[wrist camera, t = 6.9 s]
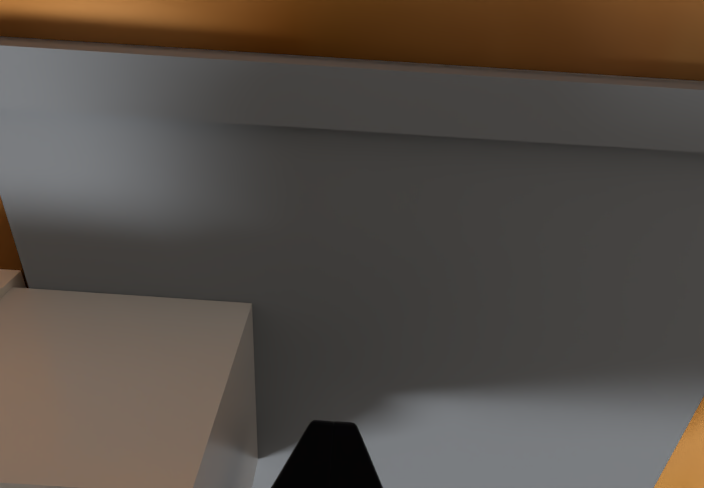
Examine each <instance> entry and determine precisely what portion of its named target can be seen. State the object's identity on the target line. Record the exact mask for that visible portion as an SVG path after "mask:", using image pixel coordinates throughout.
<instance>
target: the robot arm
mask: <svg viewBox="0 0 704 488" xmlns="http://www.w3.org/2000/svg"><path fill="white" fill-rule="evenodd" d="M271 488H383V486H382V484H381V481H380V479H379V477H378V474H377V472H376V469H375V467H374V465H373V462H372V460H371V457H370V455H369V453H368V450H367V448H366V445H365V443H364V441H363V438H362V436H361V434H360V431H359V429H358V427H357V425H356V424H355V423H353V422H341V421H335V422H333V421H326V420H313V421H311V422H310V423H309V425H308V426H307V428H306V430H305V431H304V433H303V435H302V436H301V438H300V440H299V441H298V443H297V445H296V446H295V448H294V450H293V452H292V453H291V455H290V457H289V458H288V460H287V462H286V463H285V465H284V467H283V468H282V470H281V472H280V473H279V475H278V477H277V478H276V480H275V482H274V483H273V485H272V487H271Z"/></svg>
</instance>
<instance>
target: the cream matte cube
mask: <svg viewBox="0 0 704 488" xmlns="http://www.w3.org/2000/svg"><path fill="white" fill-rule="evenodd" d="M257 462H258V448H257V422H256V396H255V369H254V343H253V317H252V303H241V302H226V301H211V300H196V299H181V298H166V297H151V296H136V295H121V294H106V293H91V292H76V291H62V290H47V289H32V288H17V287H12V288H11V289H10V290H9V291H8V292H7V293H6V294H5V295H4V296H3V297H2V298H1V299H0V488H252V486H253V481H254V476H255V471H256V467H257Z"/></svg>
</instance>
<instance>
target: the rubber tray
mask: <svg viewBox="0 0 704 488" xmlns="http://www.w3.org/2000/svg"><path fill="white" fill-rule="evenodd" d="M0 196H1V199H2V202H3V205H4V209H5V212H6V215H7V218H8V222H9V225H10V228H11V231H12V235H13V238H14V241H15V244H16V248H17V251H18V254H19V257H20V261H21V264H22V267H23V270H24V274H25V277H26V280H27V283H28V287H29V288H32V289H47V290H62V291H76V292H91V293H106V294H121V295H136V296H151V297H166V298H181V299H196V300H211V301H226V302H241V303H252V317H253V343H254V369H255V396H256V422H257V448H258V462H257V467H256V471H255V476H254V481H253V486H252V488H271V487H272V485H273V483H274V482H275V480H276V478H277V477H278V475H279V473H280V472H281V470H282V468H283V467H284V465H285V463H286V462H287V460H288V458H289V457H290V455H291V453H292V452H293V450H294V448H295V446H296V445H297V443H298V441H299V440H300V438H301V436H302V435H303V433H304V431H305V430H306V428H307V426H308V425H309V423H310V422H311V421H313V420H326V421H333V422H335V421H341V422H353V423H355V424H356V425H357V427H358V429H359V431H360V434H361V436H362V438H363V441H364V443H365V445H366V448H367V450H368V453H369V455H370V457H371V460H372V462H373V465H374V467H375V469H376V472H377V474H378V477H379V479H380V481H381V484H382V486H383V488H654V486H655V484H656V482H657V480H658V478H659V477H660V475H661V473H662V471H663V469H664V468H665V466H666V464H667V462H668V460H669V458H670V457H671V455H672V453H673V451H674V449H675V447H676V446H677V444H678V442H679V440H680V438H681V437H682V435H683V433H684V431H685V429H686V427H687V426H688V424H689V422H690V420H691V418H692V417H693V415H694V413H695V411H696V409H697V407H698V406H699V404H700V402H701V400H702V398H703V396H704V81H693V80H677V79H661V78H646V77H630V76H614V75H599V74H583V73H567V72H551V71H536V70H520V69H504V68H489V67H473V66H457V65H442V64H426V63H410V62H395V61H379V60H363V59H348V58H332V57H316V56H301V55H285V54H269V53H254V52H238V51H222V50H207V49H191V48H175V47H160V46H144V45H128V44H113V43H97V42H81V41H65V40H50V39H34V38H18V37H3V36H0Z"/></svg>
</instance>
